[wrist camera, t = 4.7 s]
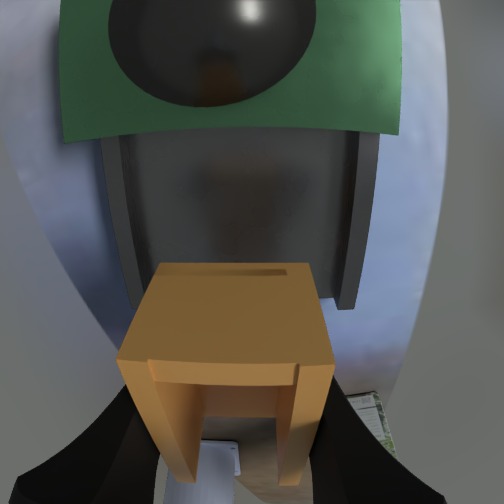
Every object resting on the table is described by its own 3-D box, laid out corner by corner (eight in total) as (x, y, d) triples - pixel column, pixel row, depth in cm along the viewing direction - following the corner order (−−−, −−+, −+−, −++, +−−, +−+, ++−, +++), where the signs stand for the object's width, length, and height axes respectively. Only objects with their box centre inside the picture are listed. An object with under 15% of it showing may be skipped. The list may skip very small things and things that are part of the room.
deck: (353, 289, 19) (387, 372, 13) (120, 288, 20) (78, 366, 13) (374, -12, 11) (440, -56, 5) (89, 0, 11) (11, -28, 5)
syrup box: (311, 429, 28) (326, 562, 15) (315, 396, 25) (337, 557, 12) (367, 421, 27) (394, 548, 15) (378, 387, 25) (419, 536, 12)
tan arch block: (291, 403, 14) (298, 484, 10) (189, 402, 14) (177, 481, 10) (308, 262, 11) (335, 364, 7) (159, 262, 11) (115, 359, 7)
